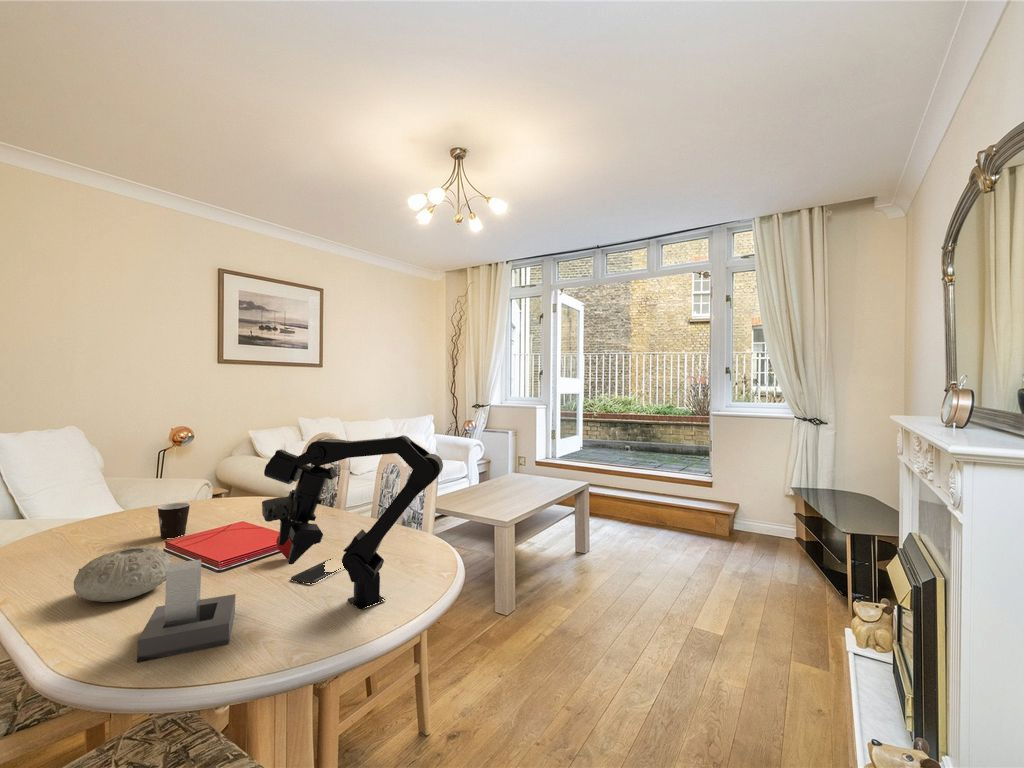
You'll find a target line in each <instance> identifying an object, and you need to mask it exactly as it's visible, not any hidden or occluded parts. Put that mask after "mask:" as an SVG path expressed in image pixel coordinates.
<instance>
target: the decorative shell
mask: <svg viewBox="0 0 1024 768" xmlns="http://www.w3.org/2000/svg"><path fill="white" fill-rule="evenodd" d="M171 563H172V559H171V558H170V556H169V555H168V554H167V552H166V551H164V550H162V549H160V548H159V547H158V546H155V547H152V546H140V545H139V546H131V547H127V548H124V547H123V548H122V549H118V550H116V551H112V552H109V553H105V554H102V555H100V556H98V557H95V558H94V559H92V560H90V561H89V562H87V563H86V564H85V565H83V566H82V567H81V568H78V572H77V573H76V575H75V578H74V580H73V590H74V593H75V594H76V595H77V597H80V598H81V599H83V600H87V601H90V602H91V601H92V602H100V603H109V602H110V603H111V602H112V603H113V602H122V601H126V600H129V599H133V598H135V597H138V596H141V595H143V594H146V593H148V592H151V591H153V590H154V589H156V588H157V587H160V585H162V584H163V583H164V582H166V572H167V570H168V568H169V567H170V565H171Z"/></svg>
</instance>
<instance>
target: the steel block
mask: <svg viewBox="0 0 1024 768" xmlns="http://www.w3.org/2000/svg"><path fill="white" fill-rule="evenodd" d="M201 581H202V558H201V559H192V560H186V561H178V562H171V565H170V567H169V568H168V570H167V572H166V580H165V597H164V598H165V599H164V605H165V624H164V628H168V627H173V626H179V625H184V624H190V623H196V622H199V621H200V600H201V588H202V587H201V584H202V583H201Z"/></svg>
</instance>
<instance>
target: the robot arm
mask: <svg viewBox="0 0 1024 768" xmlns="http://www.w3.org/2000/svg"><path fill="white" fill-rule="evenodd" d="M394 454H395V455H398V456H399V457H400V458H401V459H402V460H403V461H404V463H406V465H407V466H408V467H410V469H412V471H411V473H410V475H409V477H408V479H407V481H406V483H405V484H404V487H402V489H401V490H400V492H399V493H398V494H397V495H396V496H395V498H394V499H393V500H392V501H391V503H390V504H389V505H388V506H387V508H386V509H385V510H384V511H383V513H382V514H381V515H380V517H378V519H377V520H376V522H375V523H374V524H373V526H372V527H371V528H370V529H369V530H367V531H365V530H364V529H361V530H360V531H359V532H358V533H357V534H356V535H354V536H353V538H352V540H351V542H350V543H349V544H347V546H346V547H345V548H344V549H343V552H344V554H343V556H342V558H341V560H342V563H343V566H344V568H345V569H344V570H346V571H347V573H348V577H349V580H350V582H351V583H353V596H352V597H348V598H346V599H347V602H348V603H349V602H350V603H349V604H351V605H352V604H353V605H354V606H353V605H352V606H353V607H355V606H356V607H357V608H356V607H355V608H356V609H358V610H359V609H362V610H364V609H363V608H365V607H367V606H370V605H373V604H375V603H378V602H381V601H383V600H382V599H384V598H385V597H383V596H382V595H380V594H381V593H380V589H381V588H380V587H381V585H380V584H381V576H380V575H381V573H380V572H379V571H380V570H381V569H382V567H383V565H384V562H385V559H384V558H383V557H382V556H381V555H380V554H379V553H378V550H379V548H380V545H381V544H382V541H383V540H384V537H385V536H387V533H388V532H389V531H390V529H392V527H393V526H394V525H395V524H396V522H397V521H398V519H400V517H401V516H402V515H403V514H404V513H405V511H406V509H407V508H408V507H409V506H410V505H411V503H412V502H413V501H414V499H415V498H416V497H417V496H419V494H420V493H421V492H423V491H424V490H425V489H427V487H429V486H430V485H431V484H432V483H433V482H435V480H436V479H437V478H438V477H439V475H440V474H441V473H442V472H443V468H444V463H443V460H442V458H441V457H440V456H439V455H437V454H436V453H435V454H434V453H430V452H429V451H427V450H426V449H425V448H423V447H422V446H421V445H419V444H417V443H415V442H414V441H413V440H412V439H411V438H410V437H409V436H407V435H404V434H403V435H399V436H393V437H392V436H391V437H385V438H384V437H382V438H373V439H372V438H371V439H370V438H369V439H360V440H346V439H339V438H338V439H336V438H323V439H319V440H316V441H312V442H310V444H309V445H308V446H307V448H306V451H305V452H303V453H302V454H301V455H300V454H299V455H296V454H293V453H291V452H289V451H286V450H284V449H281V448H280V449H277V450H275V453H274V455H273V456H272V457H271V458H270V459H269V461H268V463H267V464H265V467H264V471H263V472H264V473H263V474H264V476H265V478H269V479H272V480H275V481H278V482H280V483H283V484H286V485H291V484H292V483H294V482H295V483H296V482H297V484H296V486H295V489H291V491H289V494H288V495H287V496H279V497H275V498H269V499H266V500H263V501H261V507H262V508H261V510H262V511H261V513H262V514H261V515H262V517H263V518H264V521H265V522H267V523H270V522H274V521H280V522H279V533H280V534H279V533H278V534H279V535H278V536H279V545H284V544H285V543H286V541H287V540H288V539H290V541H291V542H292V545H291V550H290V554H289V559H287V561H288V562H287V564H288V565H294V564H295V563H296V562H297V561H298V560H299V559H300V558H301V557H302V556H303V555H304V554H305V553H306V552H307V551H308V550H309V549H311V548H312V546H314V545H317V544H320V543H321V542H322V539H323V537H324V533H323V531H322V530H321V528H320V526H319V525H318V524H317V523H309V521H311V522H315V521H316V518H317V516H316V514H315V511H316V510H317V509H316V508H317V506H318V505H321V504H322V501H323V499H322V498H321V495H322V493H323V490H324V486H326V485H325V484H326V482H327V480H330V481H331V480H333V479H335V478H337V477H338V473H337V472H336V471H335V469H334V466H330V467H328V468H327V467H324V465H328V464H332V463H335V462H339V461H342V460H345V459H351V458H360V457H370V456H381V455H382V456H384V455H394ZM310 464H311V465H312V466H311V465H310ZM381 596H382V597H381ZM384 600H385V601H386V598H385V599H384ZM365 609H366V608H365Z"/></svg>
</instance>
